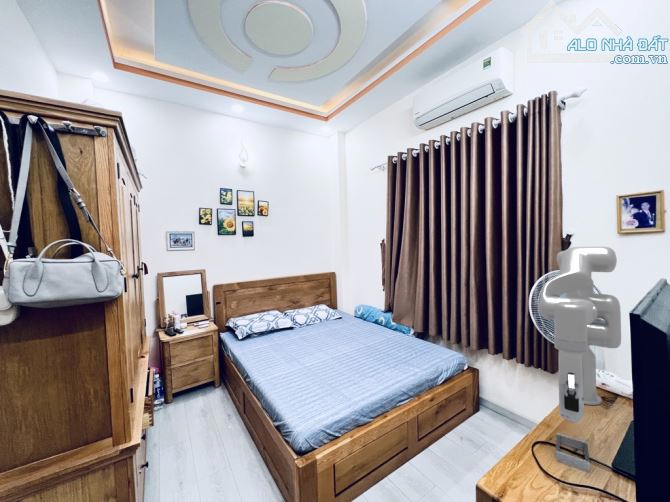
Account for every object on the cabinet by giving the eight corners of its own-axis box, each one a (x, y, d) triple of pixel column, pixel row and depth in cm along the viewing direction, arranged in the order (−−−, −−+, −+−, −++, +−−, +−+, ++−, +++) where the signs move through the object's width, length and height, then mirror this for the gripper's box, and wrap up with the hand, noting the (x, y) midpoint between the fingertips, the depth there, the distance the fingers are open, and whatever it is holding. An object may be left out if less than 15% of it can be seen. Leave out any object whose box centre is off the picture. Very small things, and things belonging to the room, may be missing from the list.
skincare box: (577, 424, 81) (576, 381, 81) (558, 416, 85) (557, 375, 84) (584, 416, 84) (584, 375, 84) (566, 409, 88) (565, 370, 88)
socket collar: (556, 440, 91) (556, 432, 91) (587, 450, 87) (587, 442, 86) (555, 460, 83) (555, 451, 83) (589, 472, 78) (589, 463, 78)
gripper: (555, 334, 93) (555, 389, 94) (553, 350, 80) (554, 413, 80) (585, 339, 89) (586, 396, 89) (589, 356, 75) (590, 423, 75)
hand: (571, 403), depth 84 cm, fingers closed on skincare box, 6 cm apart
